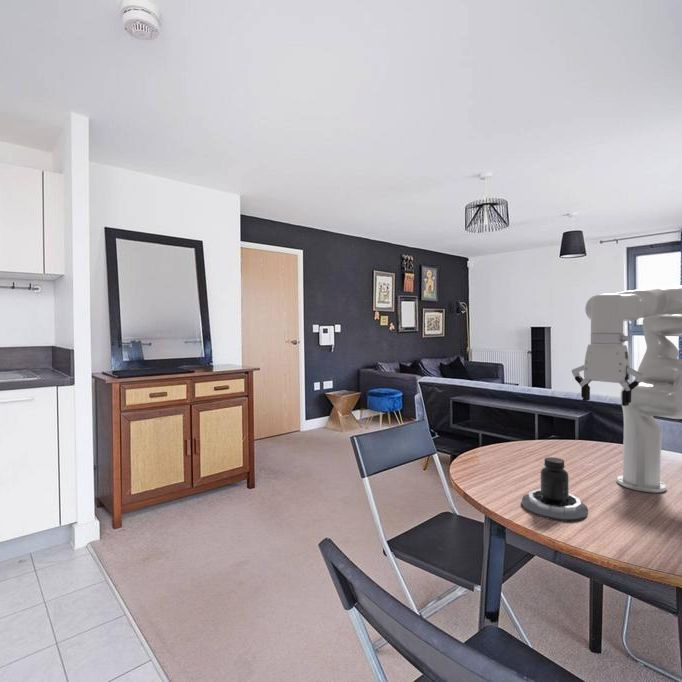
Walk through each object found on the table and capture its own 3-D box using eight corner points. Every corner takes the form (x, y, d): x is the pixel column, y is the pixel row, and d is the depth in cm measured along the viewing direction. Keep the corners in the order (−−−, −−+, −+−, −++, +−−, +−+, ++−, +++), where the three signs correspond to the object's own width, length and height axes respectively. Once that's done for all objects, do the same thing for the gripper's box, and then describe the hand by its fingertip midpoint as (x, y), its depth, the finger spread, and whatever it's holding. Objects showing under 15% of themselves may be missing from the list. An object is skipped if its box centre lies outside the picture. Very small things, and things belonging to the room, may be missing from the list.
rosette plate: (538, 492, 130) (538, 482, 130) (597, 509, 118) (597, 499, 118) (510, 506, 120) (511, 496, 119) (572, 527, 107) (572, 516, 107)
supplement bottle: (559, 498, 122) (560, 455, 122) (573, 508, 115) (574, 463, 115) (535, 498, 122) (536, 456, 121) (548, 509, 115) (548, 463, 115)
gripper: (648, 340, 114) (647, 405, 115) (578, 338, 128) (577, 397, 128) (639, 341, 110) (637, 409, 110) (567, 339, 123) (566, 400, 123)
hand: (605, 402), depth 119 cm, fingers open, 9 cm apart
